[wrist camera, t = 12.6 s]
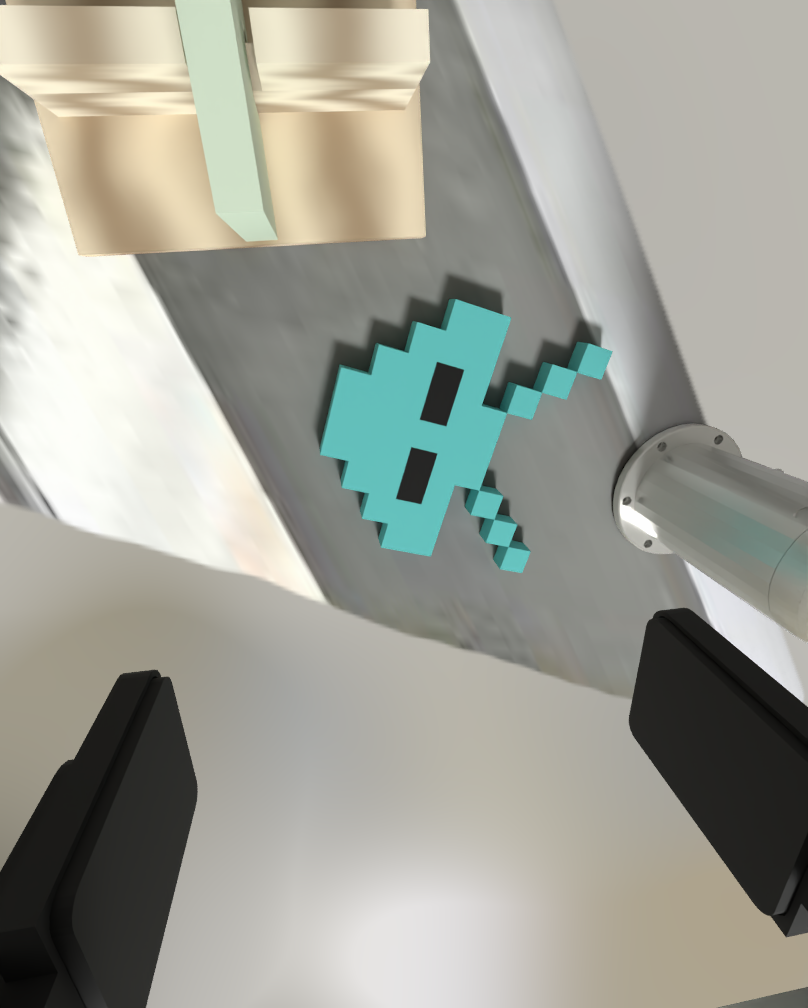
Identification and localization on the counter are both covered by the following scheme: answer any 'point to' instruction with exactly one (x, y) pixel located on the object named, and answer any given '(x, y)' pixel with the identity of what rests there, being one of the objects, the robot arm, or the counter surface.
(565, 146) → the counter surface
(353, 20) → the cross stand
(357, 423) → the alien figure
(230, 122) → the slotted plate
